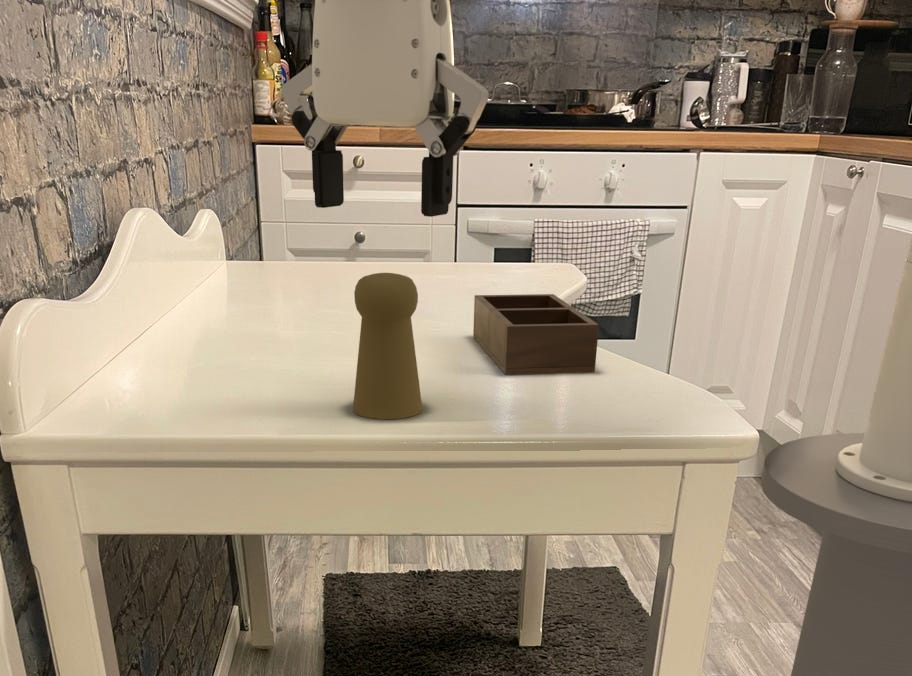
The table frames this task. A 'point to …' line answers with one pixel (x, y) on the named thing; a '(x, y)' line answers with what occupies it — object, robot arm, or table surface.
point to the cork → (386, 348)
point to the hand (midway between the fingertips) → (380, 210)
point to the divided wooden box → (535, 334)
